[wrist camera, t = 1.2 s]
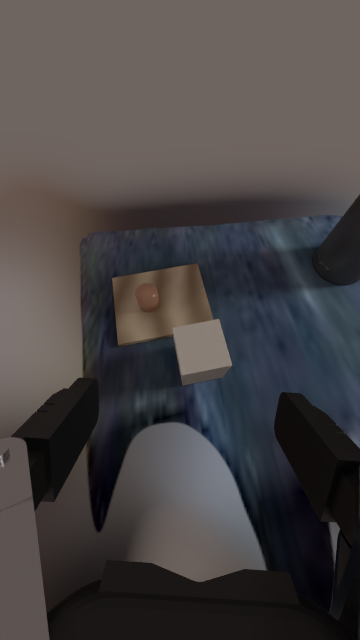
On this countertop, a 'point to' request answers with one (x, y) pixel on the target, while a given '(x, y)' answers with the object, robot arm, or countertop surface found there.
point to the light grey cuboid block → (201, 352)
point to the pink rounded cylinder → (147, 297)
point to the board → (175, 304)
